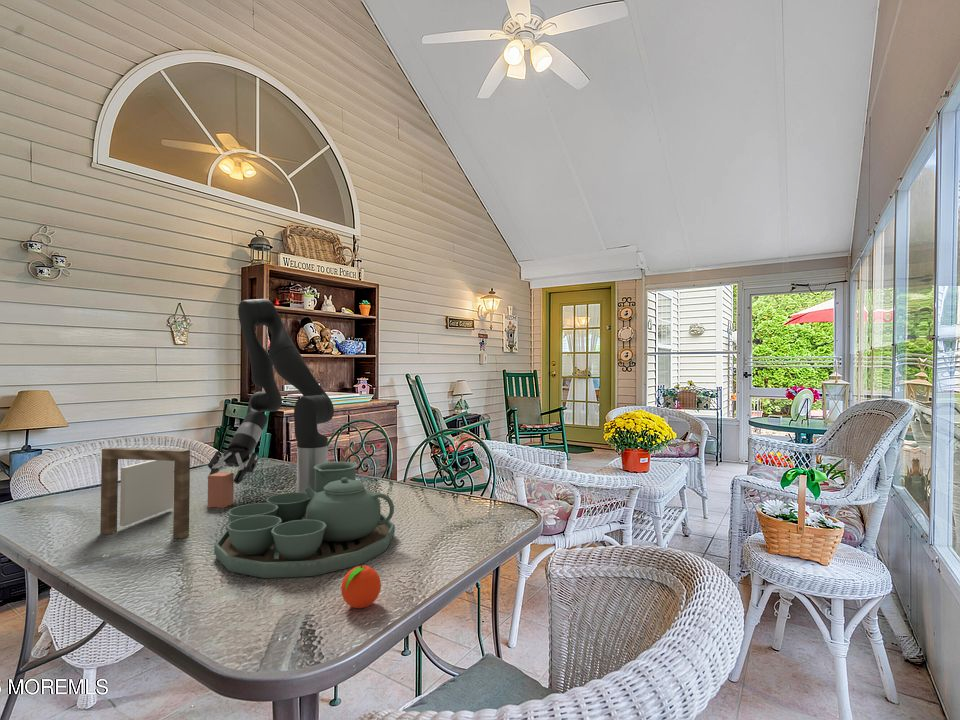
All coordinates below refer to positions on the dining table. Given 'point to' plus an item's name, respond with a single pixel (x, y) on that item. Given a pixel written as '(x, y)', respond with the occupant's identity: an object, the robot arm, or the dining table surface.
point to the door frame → (177, 455)
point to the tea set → (308, 528)
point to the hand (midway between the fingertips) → (223, 481)
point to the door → (146, 490)
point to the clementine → (361, 586)
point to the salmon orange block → (220, 489)
